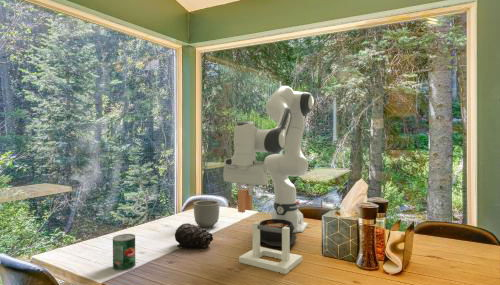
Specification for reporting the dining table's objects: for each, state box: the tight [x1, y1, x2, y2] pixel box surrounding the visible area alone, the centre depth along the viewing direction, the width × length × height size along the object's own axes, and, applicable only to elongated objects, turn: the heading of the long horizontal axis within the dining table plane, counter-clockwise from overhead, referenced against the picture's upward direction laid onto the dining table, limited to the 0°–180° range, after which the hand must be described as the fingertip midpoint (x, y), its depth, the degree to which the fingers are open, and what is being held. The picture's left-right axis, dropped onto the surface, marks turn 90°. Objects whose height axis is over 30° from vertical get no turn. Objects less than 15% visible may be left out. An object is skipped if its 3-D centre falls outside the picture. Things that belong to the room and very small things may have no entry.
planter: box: [192, 199, 221, 230], centre depth 168 cm, size 14×14×13 cm
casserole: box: [260, 218, 297, 247], centre depth 145 cm, size 25×19×8 cm
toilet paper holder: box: [238, 221, 303, 275], centre depth 120 cm, size 20×14×14 cm
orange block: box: [237, 188, 253, 214], centre depth 128 cm, size 6×2×8 cm, turn 146°
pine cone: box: [174, 222, 214, 251], centre depth 138 cm, size 10×18×10 cm, turn 80°
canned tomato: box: [112, 233, 136, 272], centre depth 117 cm, size 8×8×11 cm
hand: (245, 194), depth 128 cm, fingers closed on orange block, 2 cm apart
